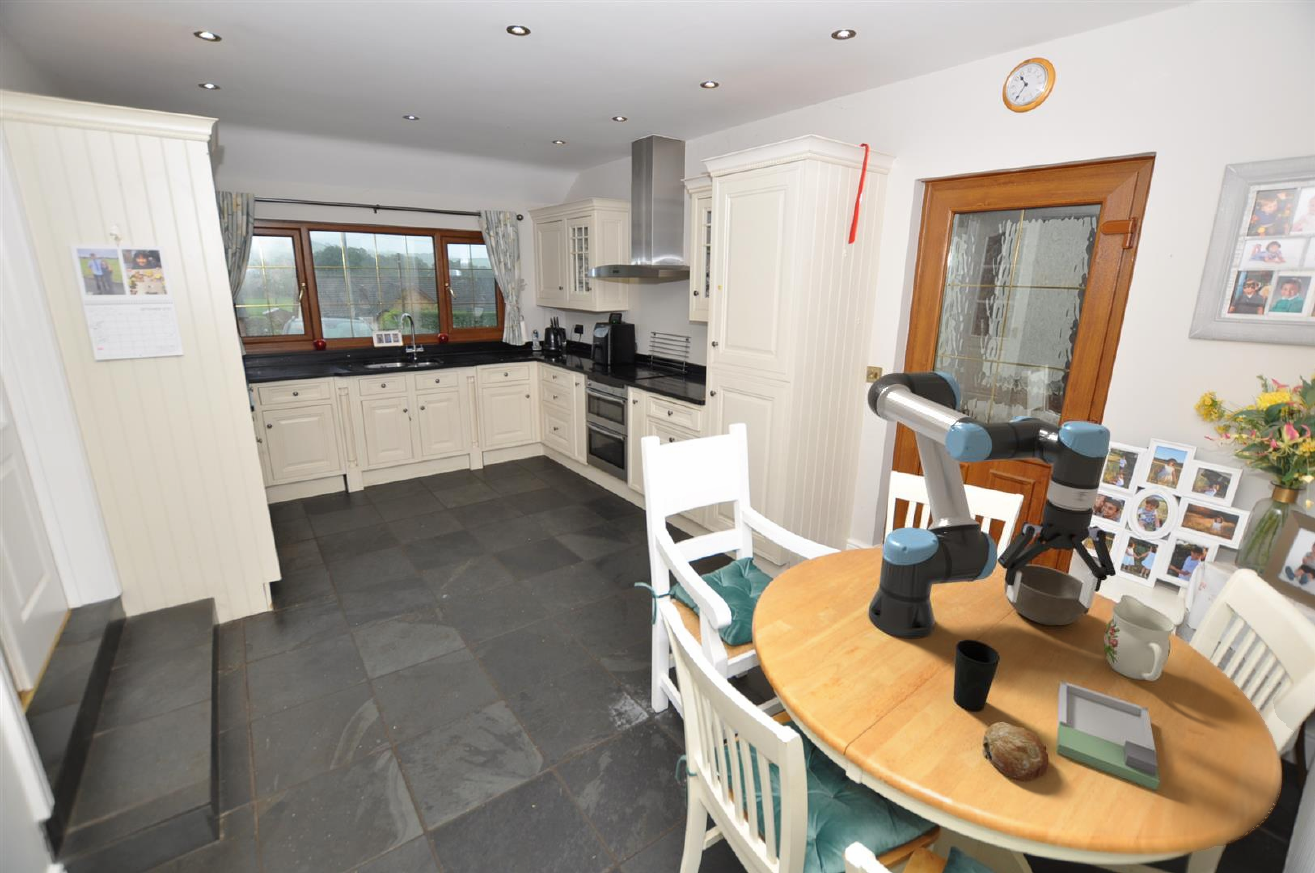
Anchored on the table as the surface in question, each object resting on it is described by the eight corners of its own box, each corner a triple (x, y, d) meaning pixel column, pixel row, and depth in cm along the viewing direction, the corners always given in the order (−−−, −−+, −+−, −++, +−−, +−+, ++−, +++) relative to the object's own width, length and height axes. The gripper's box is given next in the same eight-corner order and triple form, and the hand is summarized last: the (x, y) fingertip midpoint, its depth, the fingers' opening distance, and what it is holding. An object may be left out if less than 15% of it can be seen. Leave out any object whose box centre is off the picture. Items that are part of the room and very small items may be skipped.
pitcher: (1119, 694, 119) (1134, 636, 115) (1085, 642, 136) (1098, 591, 132) (1183, 706, 116) (1201, 647, 112) (1141, 651, 133) (1155, 598, 129)
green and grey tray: (1056, 753, 105) (1061, 734, 104) (1058, 690, 120) (1062, 674, 119) (1156, 790, 97) (1162, 771, 96) (1144, 719, 113) (1149, 702, 112)
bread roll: (976, 754, 109) (964, 723, 107) (1026, 731, 109) (1016, 700, 107) (1011, 799, 100) (999, 767, 98) (1067, 775, 99) (1056, 742, 97)
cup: (995, 718, 113) (1006, 666, 110) (953, 712, 114) (962, 660, 111) (982, 691, 120) (992, 641, 117) (943, 686, 122) (951, 637, 118)
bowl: (1095, 619, 145) (1103, 583, 142) (1063, 644, 135) (1071, 606, 133) (1021, 589, 159) (1028, 556, 156) (988, 609, 149) (994, 575, 146)
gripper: (1007, 507, 108) (988, 606, 114) (1155, 515, 104) (1128, 617, 110) (991, 492, 115) (974, 586, 121) (1129, 499, 111) (1104, 596, 117)
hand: (1047, 601), depth 116 cm, fingers open, 13 cm apart
